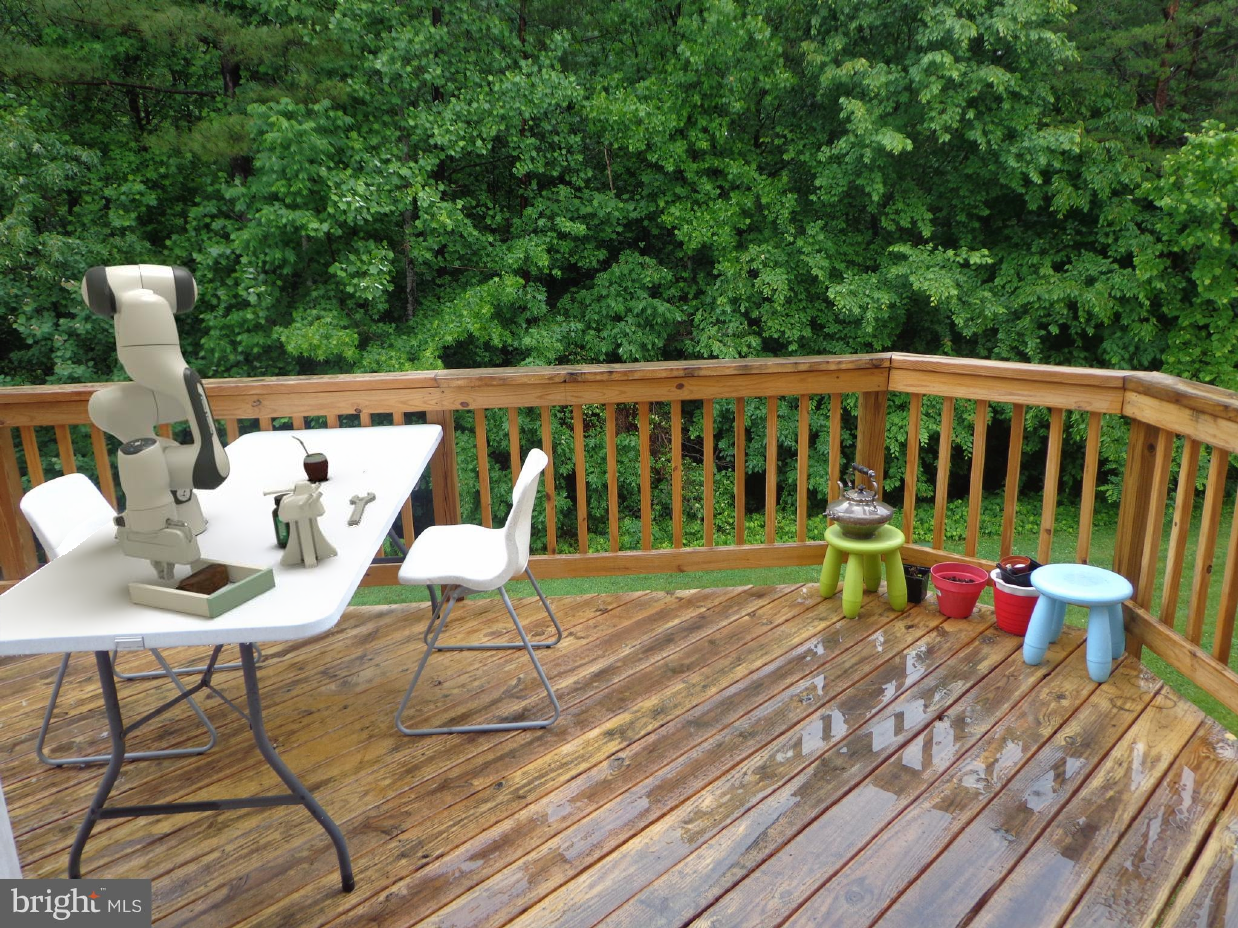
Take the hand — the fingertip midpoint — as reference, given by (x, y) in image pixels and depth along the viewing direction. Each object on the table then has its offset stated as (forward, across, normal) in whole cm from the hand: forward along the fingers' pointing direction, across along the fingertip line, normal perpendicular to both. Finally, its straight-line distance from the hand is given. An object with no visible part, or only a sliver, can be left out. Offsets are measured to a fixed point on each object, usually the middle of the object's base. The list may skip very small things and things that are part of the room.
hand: (166, 578), depth 183 cm
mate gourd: (+2, +27, -73) cm, 78 cm away
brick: (+3, -10, -1) cm, 10 cm away
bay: (+2, -10, 0) cm, 10 cm away
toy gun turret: (+2, -17, -22) cm, 28 cm away
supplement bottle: (+2, -6, -29) cm, 30 cm away
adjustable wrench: (+3, -5, -54) cm, 54 cm away
